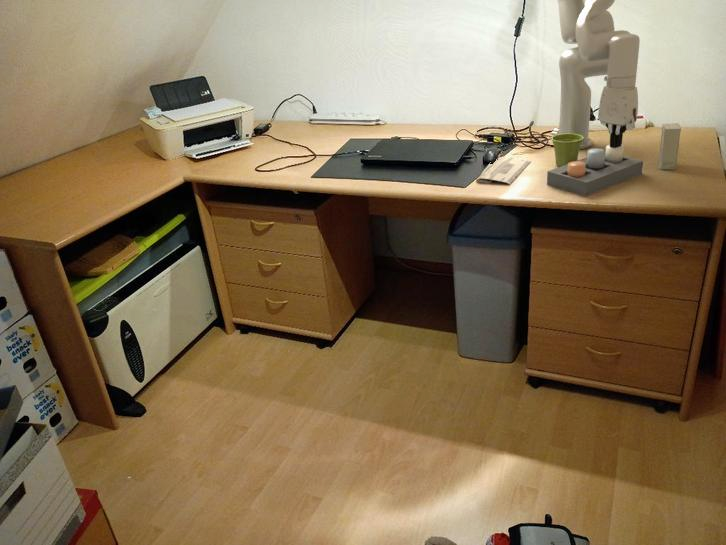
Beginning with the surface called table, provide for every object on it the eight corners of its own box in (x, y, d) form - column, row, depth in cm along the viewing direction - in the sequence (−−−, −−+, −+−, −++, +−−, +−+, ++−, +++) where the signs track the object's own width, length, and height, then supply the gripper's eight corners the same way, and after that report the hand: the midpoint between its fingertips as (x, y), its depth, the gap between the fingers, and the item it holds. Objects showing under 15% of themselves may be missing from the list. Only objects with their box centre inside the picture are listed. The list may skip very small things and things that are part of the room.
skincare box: (676, 169, 178) (682, 128, 172) (659, 169, 179) (664, 129, 174) (673, 163, 183) (679, 122, 177) (657, 163, 184) (662, 123, 179)
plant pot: (544, 164, 194) (545, 137, 190) (567, 157, 197) (569, 131, 193) (563, 171, 186) (565, 143, 182) (588, 164, 189) (590, 137, 185)
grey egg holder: (546, 184, 178) (547, 171, 176) (602, 164, 188) (603, 151, 187) (585, 196, 167) (586, 182, 165) (641, 174, 178) (643, 160, 176)
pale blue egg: (583, 165, 177) (584, 151, 175) (594, 161, 179) (595, 147, 177) (596, 169, 173) (597, 154, 171) (607, 165, 175) (609, 150, 173)
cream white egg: (601, 160, 180) (602, 146, 178) (612, 157, 183) (613, 143, 181) (615, 164, 177) (616, 149, 175) (626, 160, 179) (627, 146, 177)
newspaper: (493, 161, 203) (494, 154, 202) (529, 167, 198) (530, 160, 197) (469, 184, 186) (470, 176, 185) (508, 191, 181) (509, 183, 180)
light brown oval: (563, 178, 174) (564, 164, 172) (575, 174, 176) (575, 160, 174) (576, 182, 170) (577, 168, 168) (588, 178, 173) (589, 163, 171)
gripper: (589, 82, 173) (585, 145, 182) (635, 87, 162) (629, 154, 170) (607, 77, 177) (602, 139, 185) (653, 82, 165) (646, 148, 173)
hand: (615, 146), depth 177 cm, fingers closed
